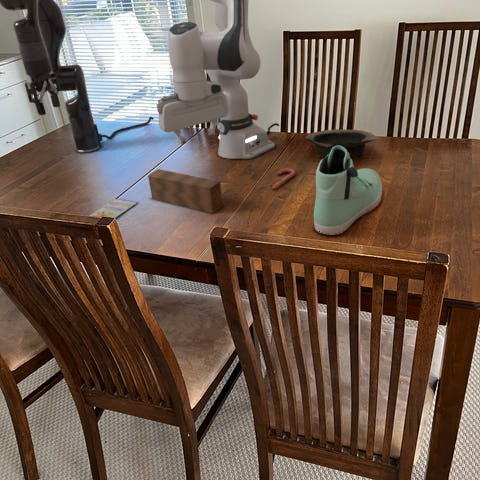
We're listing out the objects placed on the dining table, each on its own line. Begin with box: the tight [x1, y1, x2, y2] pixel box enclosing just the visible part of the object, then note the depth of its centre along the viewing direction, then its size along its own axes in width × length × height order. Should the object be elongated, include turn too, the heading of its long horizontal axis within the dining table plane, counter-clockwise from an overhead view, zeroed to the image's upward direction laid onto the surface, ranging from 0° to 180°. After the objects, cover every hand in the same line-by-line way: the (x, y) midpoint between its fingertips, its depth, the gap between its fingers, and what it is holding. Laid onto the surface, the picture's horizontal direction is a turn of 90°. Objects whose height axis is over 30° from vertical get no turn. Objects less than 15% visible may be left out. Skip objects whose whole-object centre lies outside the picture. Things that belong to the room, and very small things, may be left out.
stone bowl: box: [304, 128, 378, 159], centre depth 171 cm, size 25×25×9 cm
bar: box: [147, 168, 223, 214], centre depth 148 cm, size 24×5×8 cm, turn 58°
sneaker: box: [313, 146, 383, 236], centre depth 133 cm, size 14×35×20 cm, turn 152°
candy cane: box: [272, 167, 296, 190], centre depth 158 cm, size 6×15×2 cm, turn 145°
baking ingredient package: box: [88, 198, 137, 219], centre depth 147 cm, size 9×1×15 cm
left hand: (49, 110), depth 152 cm, fingers open, 8 cm apart
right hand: (197, 139), depth 135 cm, fingers open, 8 cm apart
